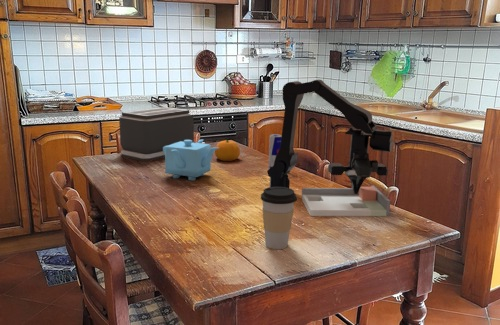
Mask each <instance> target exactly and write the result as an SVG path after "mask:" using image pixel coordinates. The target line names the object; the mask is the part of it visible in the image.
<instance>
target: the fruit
mask: <svg viewBox="0 0 500 325" xmlns="http://www.w3.org/2000/svg"><path fill="white" fill-rule="evenodd" d="M215 147H218V149H216V150H215V151H214V155H215V157H216V159H218V160H220V161H224V162H231V161H235V160H237V159H238V158H240V154H241V149H240V147H239V145H238V143H237V142H235V141H233V140H229V139H228V138H226V140H221V141H219V142H218V143H217V144H216V146H215Z"/></svg>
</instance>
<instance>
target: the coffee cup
mask: <svg viewBox="0 0 500 325" xmlns="http://www.w3.org/2000/svg"><path fill="white" fill-rule="evenodd" d="M260 199H261V201H262V218H263V220H262V221H263V228H264V238H265V246H266V248H269V249H272V250H284V249H286V248H287V247H288V245H289V239H290V232H291V229H292V222H293V215H294V205H295V204H294V203H295V202H297V201H298V198H297V194H296V193H295V190H294V189H292V188H290V187H289V188H286V187H270V186H269V187H267V188H264V190H263V192H261V194H260Z"/></svg>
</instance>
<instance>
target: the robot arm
mask: <svg viewBox="0 0 500 325" xmlns="http://www.w3.org/2000/svg"><path fill="white" fill-rule="evenodd" d="M310 93H315V94H317V95H318V96H319V97H321V98H322V99H323V100H325V101H326V102H327V103H328V104H329V105H331V106H332V107H334V109H337V111H339V112H340V113H341V114H343V116H344V118H345V119H346V121H347V122H348V123H350V126H351V127H349V129H348V130H346V131H345V132H344V134H345V135H351V138H350V149H349V161H348V165H343V164H342V163H341V162H330V163H329V164H328V167H327V171H328V172H329V174H330V175H332V176H342V175H343V174H345V175H346V177H348V178H349V181H350V185H351V188H353V191H354V194H358V191H359V189H360V187H362V185H363V183H364V182H365V181H366V179H368V178H371V175H372V173H376V174H377V176H388V172H389V171H388V170H389V169H388V167H387V166H386V165H384V163H379V162H378V160H377V159H375V160H374V159H371V160H370V158H369V157H370V153H369V148H370V149H372V150H373V151H377V152H378V151H379V152H385V153H392V151H393V147H394V135H393V134H394V132H393V130H388V129H387V130H381V129H378V127H377V126H376V124H375V122H374V121H373V116H372V113H371V112H370V111H369V110H367V109H366V108H363V107H361V106H360V105H357V104H354V103H352V102H350V101H349V100H347V99H346V98H345V97H344V96H342V95H341V94H340V93H338V92H337V91H336V90H335V89H333V88H332V87H330V86H329V85H328V84H326V83H325V82H324V81H323V80H322V79H314V80H312V81H306V82H301V81H299V80H295V81H289V82H286V83H285V84H284V85H283V87H282V101H283V105H284V112H283V113H284V114H283V121H282V129H281V130H282V131H281V145H280V149H279V151H278V153H277V155H276V158H275V161H274V166H272V167H271V168H268V170H267V172H266V173H267V175H268V177H269V187H286V188H290V181H291V180H290V178H289V175H288V174H290V172H291V171H292V169H294V168H295V166H296V165H297V164H298V161H297V160H298V156H299V152H296V151H295V150H294V144H295V135H296V129H297V120H298V113H299V108H300V105H301V103H302V101H303V98H304V95H305V94H310Z"/></svg>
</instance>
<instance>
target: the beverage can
mask: <svg viewBox="0 0 500 325" xmlns="http://www.w3.org/2000/svg"><path fill="white" fill-rule="evenodd" d="M281 137H282V134H273V133H271V134H270V135H269V139H268V140H269V143H268V144H269V147H268V169H270V168H271V167H272V166H274V161H275V158H276V155H277V153H278V151H279V149H280V145H281Z"/></svg>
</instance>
